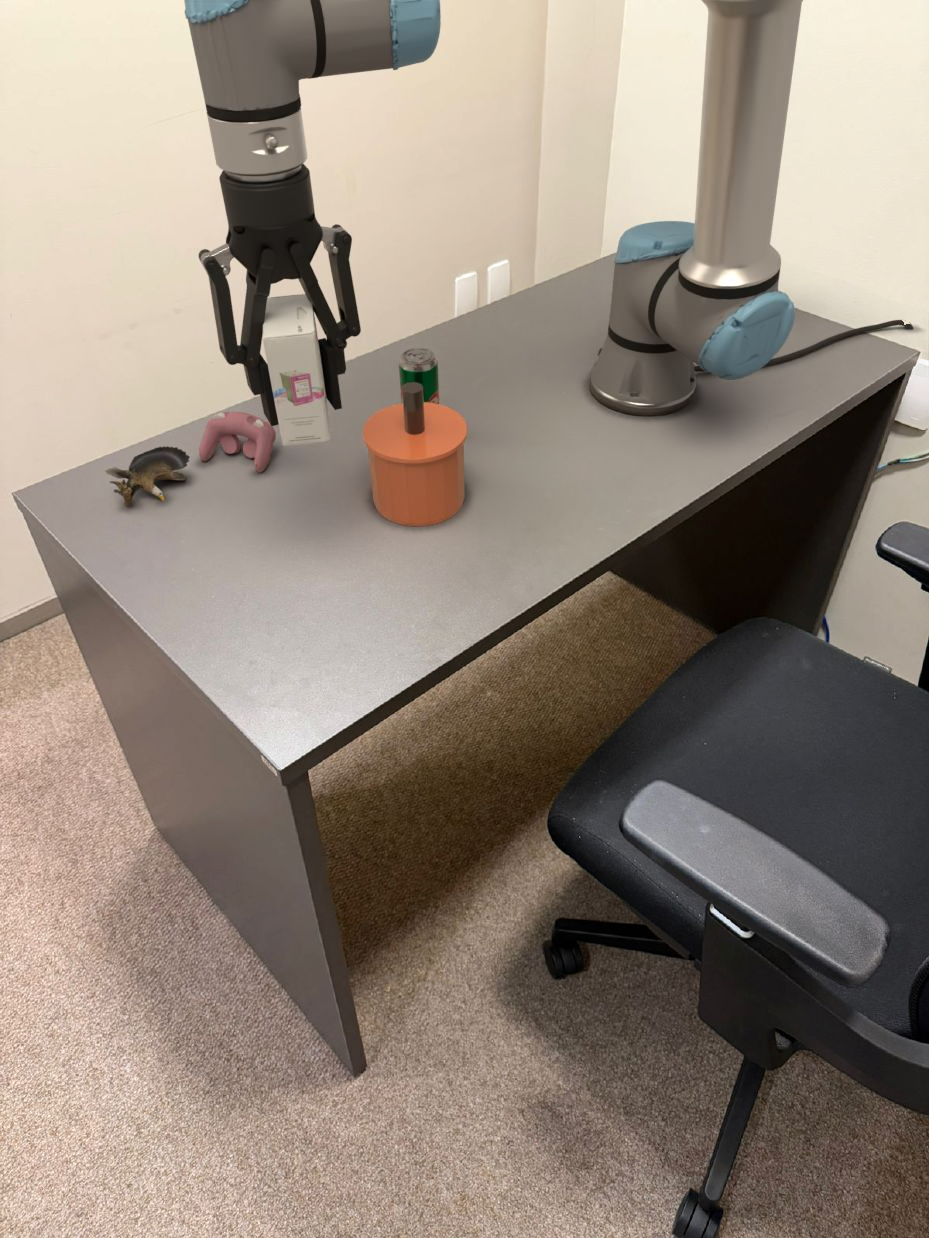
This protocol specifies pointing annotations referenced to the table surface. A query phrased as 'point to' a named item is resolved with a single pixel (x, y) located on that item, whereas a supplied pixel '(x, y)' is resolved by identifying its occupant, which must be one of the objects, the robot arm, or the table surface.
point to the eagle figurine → (149, 471)
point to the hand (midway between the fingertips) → (303, 410)
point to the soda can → (420, 372)
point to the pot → (418, 489)
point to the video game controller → (226, 431)
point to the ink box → (295, 370)
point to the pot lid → (414, 429)
